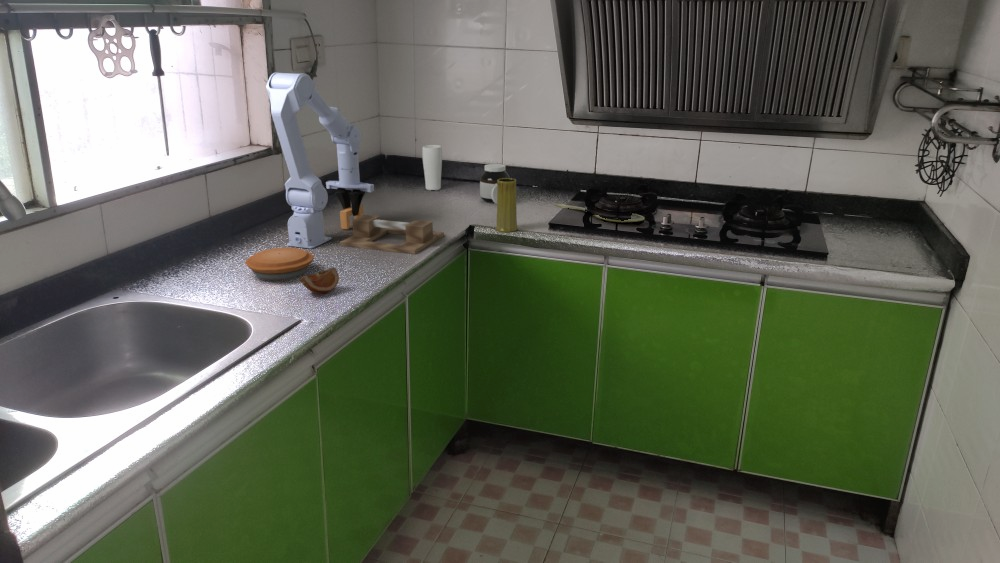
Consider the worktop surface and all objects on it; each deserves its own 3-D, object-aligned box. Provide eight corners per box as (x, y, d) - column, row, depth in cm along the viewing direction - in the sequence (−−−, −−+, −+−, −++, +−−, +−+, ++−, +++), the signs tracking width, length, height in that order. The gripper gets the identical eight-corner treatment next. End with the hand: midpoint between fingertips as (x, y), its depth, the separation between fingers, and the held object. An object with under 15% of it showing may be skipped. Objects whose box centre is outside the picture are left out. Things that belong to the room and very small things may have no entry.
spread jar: (494, 196, 249) (494, 162, 245) (522, 201, 243) (522, 165, 239) (472, 203, 240) (472, 167, 236) (501, 208, 234) (501, 171, 230)
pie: (282, 259, 185) (280, 240, 183) (328, 269, 177) (327, 249, 176) (232, 277, 172) (230, 257, 171) (280, 289, 165) (278, 267, 163)
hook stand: (444, 235, 204) (443, 216, 202) (414, 254, 188) (413, 233, 186) (374, 228, 211) (372, 209, 210) (340, 245, 196) (338, 225, 194)
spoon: (544, 212, 235) (544, 206, 235) (568, 207, 242) (568, 201, 241) (629, 228, 209) (629, 221, 209) (653, 222, 216) (653, 215, 215)
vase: (521, 229, 210) (522, 179, 205) (507, 233, 206) (507, 183, 201) (506, 225, 214) (506, 176, 209) (491, 229, 210) (491, 180, 205)
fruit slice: (311, 301, 157) (309, 279, 156) (295, 293, 162) (293, 272, 160) (345, 291, 163) (343, 270, 161) (328, 284, 167) (326, 263, 166)
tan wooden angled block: (347, 229, 209) (346, 212, 208) (341, 228, 210) (339, 211, 208) (363, 221, 217) (362, 204, 216) (357, 220, 218) (356, 204, 216)
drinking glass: (421, 191, 257) (419, 147, 252) (426, 186, 263) (424, 144, 258) (440, 191, 256) (439, 148, 251) (444, 187, 262) (443, 145, 257)
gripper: (378, 166, 209) (381, 213, 214) (334, 163, 214) (337, 209, 219) (365, 171, 203) (368, 219, 208) (320, 168, 208) (324, 215, 212)
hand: (351, 214), depth 213 cm, fingers closed on tan wooden angled block, 2 cm apart
